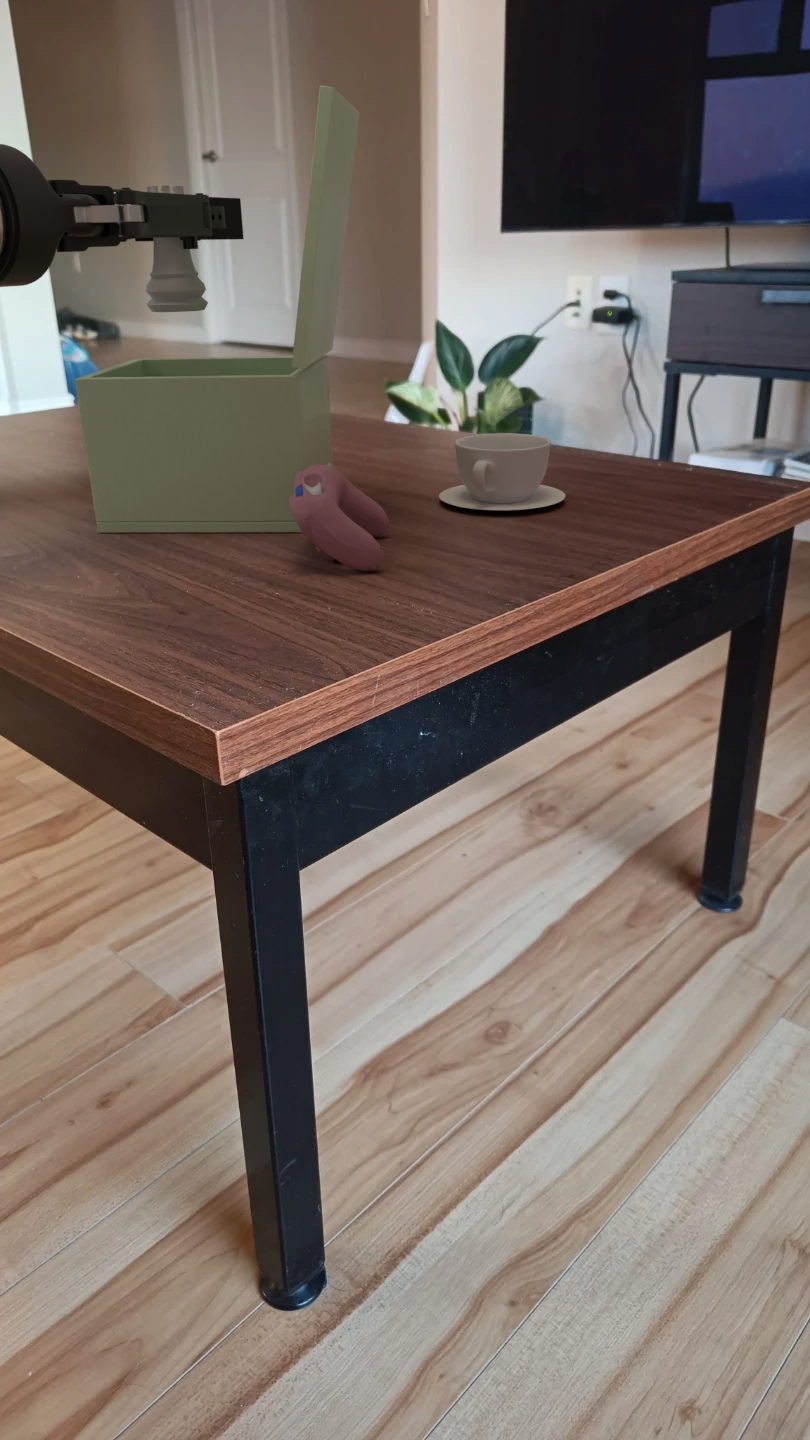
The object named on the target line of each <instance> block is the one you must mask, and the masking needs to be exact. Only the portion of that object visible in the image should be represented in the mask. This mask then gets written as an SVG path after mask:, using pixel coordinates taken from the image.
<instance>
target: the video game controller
mask: <svg viewBox="0 0 810 1440" xmlns="http://www.w3.org/2000/svg"><path fill="white" fill-rule="evenodd" d="M289 504H290V508H291V511H292V514H293V516H294V518H295V520H296V522H297V524H298V526H299V528H300V529H301V531H302V532H301V534H302V535H303V536H304V537H305V539H306V540H307V541H308V542H309V543H310V544H311V545H312V546H315V548H316V550H317V551H318V552H319V553H322V555H323V557H324V558H325V559H326V560H328V561H329V562H331V561H333V560H336V561H337V562H340V563H341V564H342V565H345V566H347V567H348V568H350V569H355V570H357V571H361V572H374V571H377V569H379V567H380V566H381V565H382V563H383V561H384V554H383V553H384V552H383V548H382V546H381V545H380V543H378V541H377V540H376V539H375V538H380V537H382V536H384V535H385V534H386V533H387V532H388V529H389V528H390V523H389V522H390V521H389V517H388V514H387V513H386V511H385V510H384V509H383V507H382V506H381V505H380V504H379V503H378V502H376V501H375V500H374V499H372V498H371V497H370V496H368V495H367V494H365V493H363V491H361V490H359V488H357V487H356V486H355V485H354V484H352V482H350V480H349V479H348V478H347V477H346V476H345V474H343V473H342V472H341V471H340V470H338V469H335V468H334V466H333V467H332V465H331V463H328V465H321V464H316V465H312V466H310V467H308V468H306V469H304V470H302V471H300V472H299V473H298V474H297V475H296V477H295V481H294V494H293V495H292V496H291V497H290V498H289ZM374 537H375V538H374Z"/></svg>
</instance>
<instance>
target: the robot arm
mask: <svg viewBox="0 0 810 1440" xmlns="http://www.w3.org/2000/svg"><path fill="white" fill-rule="evenodd" d="M161 237H179V238H180V240H183V249H190V250H199V242H200V241H210V240H211V241H212V240H213V241H215V240H217V241H219V240H220V241H223V240H244V239H245V238H244V226H243V213H242V202H241V198H239V197H217V196H210V195H208V194H204V193H203V192H196V193H195V194H190V193H189V194H187V193H184V194H172V193H155V192H147V191H141V190H136V189H135V190H133V189H131V187H121V188H116V189H114V188H112V187H111V186H110V185H89V184H80V183H79V182H78V181H77V180H75V179H46V177H45V175H44V174H43V172H42V171H41V169H40V168H39V166H38V165H37V164H36V163H35V162H34V161H33V160H32V159H31V158H30V157H29V156H28V155H27V154H25V153H24V152H22V151H21V150H19V149H18V148H16V147H13V146H11V145H8V144H4V143H0V288H6V287H7V288H8V287H22V286H27V285H30V284H33V283H35V282H37V281H38V280H40V279H41V278H42V277H43V276H44V275H45V274H46V272H47V271H48V270H49V269H50V267H51V266H52V263H53V261H54V258H55V256H56V253H76V252H78V253H79V252H85V251H87V250H88V249H89V248H107V247H110V248H111V247H118V246H119V245H120V244H121V243H126V242H127V241H128V240H133V239H134V242H153V238H161Z"/></svg>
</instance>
